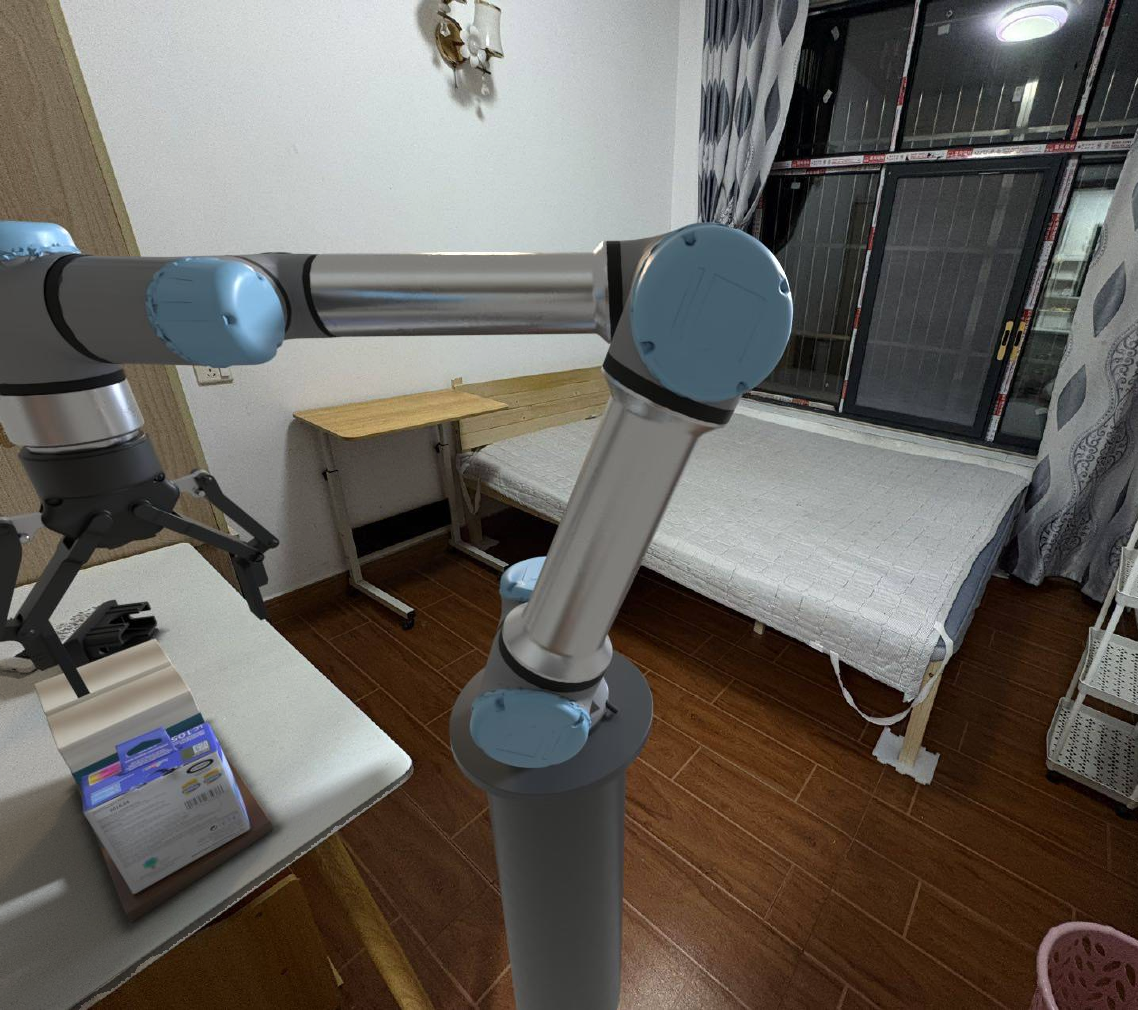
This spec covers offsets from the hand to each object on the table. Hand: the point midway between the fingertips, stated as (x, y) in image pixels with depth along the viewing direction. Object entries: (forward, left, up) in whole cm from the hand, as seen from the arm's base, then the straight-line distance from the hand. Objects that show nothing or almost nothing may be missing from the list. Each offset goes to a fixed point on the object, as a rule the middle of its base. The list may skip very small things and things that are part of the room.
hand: (178, 648), depth 52 cm
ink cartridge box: (+3, +4, -23) cm, 23 cm away
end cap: (+35, -28, -24) cm, 51 cm away
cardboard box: (+9, -1, -24) cm, 25 cm away
